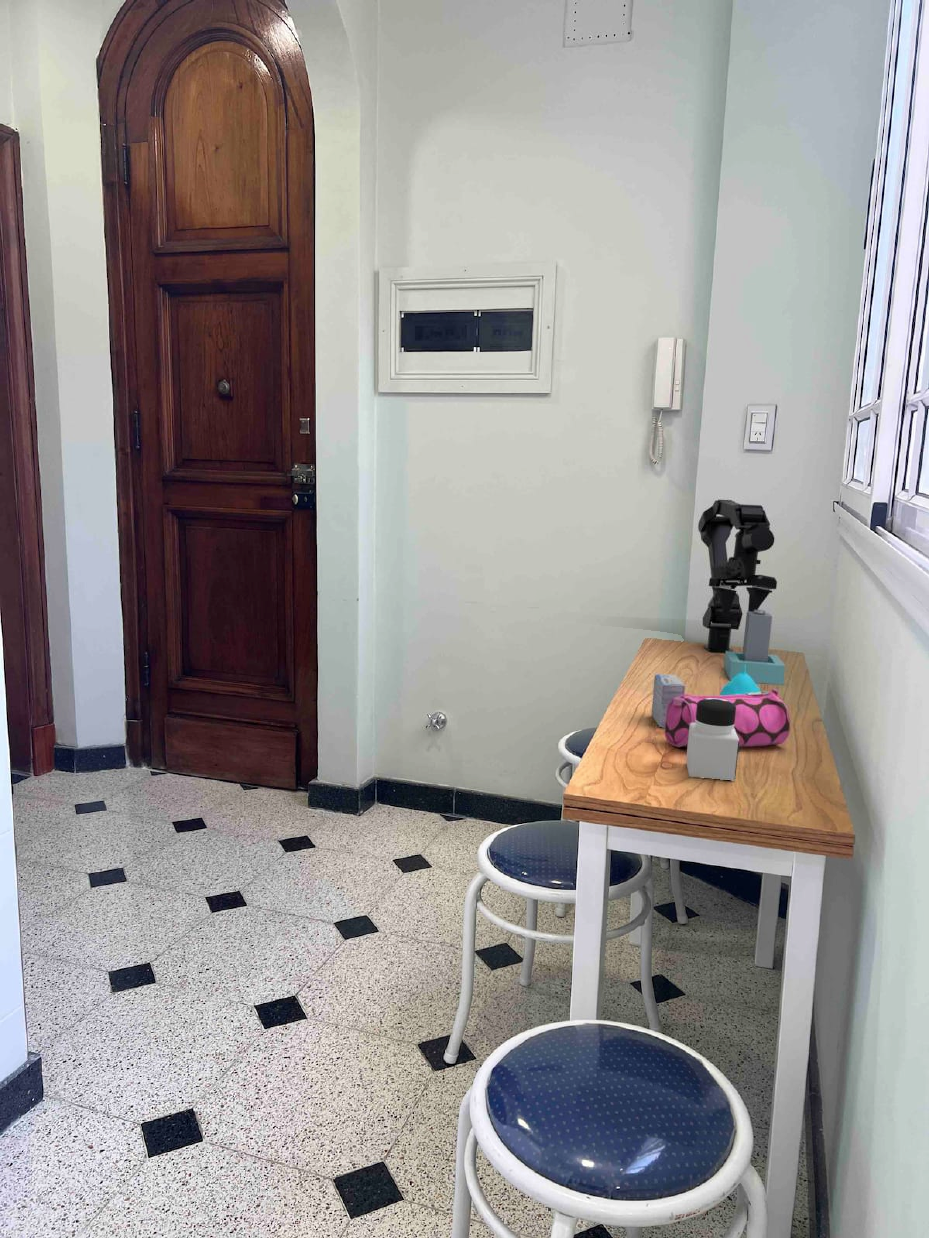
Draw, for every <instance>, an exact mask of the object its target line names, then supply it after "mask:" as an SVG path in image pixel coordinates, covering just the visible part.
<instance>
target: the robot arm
mask: <svg viewBox="0 0 929 1238" xmlns="http://www.w3.org/2000/svg"><path fill="white" fill-rule="evenodd" d="M766 514H767V513H766V510H764V507H763V506H762V505H761V504H760V505H759V504H741V503H738V502H735V501H734V500H732V499H717V500H715V501H714V502H713V504H712V506H710V507H709V508H707V509H706V510H704V511H703V512H702V514H701V517H700V519H699V520H698V523H697V524H698V526H697V530H698V532H699V534H700V540H701V541H702V543H704V545H705V546H706V547H707V549H708V557H709V566H710V567H709V568H710V576H711V577H710V578H709V582H708V587H711V590H712V596H711V599H710V600H709V602H708V604H707V609H706V611H705V612H704V614H703V616H702V626H703V628H706V629H709V630H708V639H707V644H704V645H703V648H704V649H706V650H707V651H708V652H711V653H713V652H715V653H725V652H726V651H733V652H734V650H733V649H732V648H730V644H731V637H732V636H731V635H732V630H736V631H737V630H739V629H740V626H741V621H742V619H743V614H744V613H743V609H742V607H741V603H740V595H739V594H738V593H737V590H735V589H736V588H737V587H745V588H746V591H747V593H748V608H747V611H748V612H754V610H759V608H760V606H761V605H762V604H763V603H764V601H765V600H766V599H767V597H768V596H769V595H770V594H771V593H773V590H777V586H778V581H777V579H776V577H775V576H774V577H773V576H768V575H763V574H756V572H757V565H761V562H762V561H761V559H758V557H759V555H758V554H759V553H760V552H764V551H767V550H770V549H771V548H772V546H774V543H775V536H774V532H772V530H770V529H771V527H770V525H771V523H770V521H769V519H768V516H767V515H766ZM733 528H735V530H737V532H736V533H735V535H734V537H735V541H734V550H733V556H729V558H728V552H727V544H726V543H727V542H728V539H729V537H730V536H731V533H732V530H733Z"/></svg>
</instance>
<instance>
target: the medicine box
mask: <svg viewBox="0 0 929 1238" xmlns="http://www.w3.org/2000/svg"><path fill="white" fill-rule="evenodd" d="M652 691H653V692H652V701H651V702H652V704H651V717H652V719H653V720H654V721H655V723H656V722H657V723H656V724H657V725H658V727H659V728H660V727H662V728H663V729H665V721H666V714H667V708H668V705H669V703H670V701H671V700H673V699H674V698H676V697H677V696H680V695H683V694H686V684H685V683H684V682H683V681H682V680H681V679H680V677H678V675H676V674H667V673H666V674H665V673H662V674H655V675H654V679H653V690H652ZM662 728H661V729H662Z"/></svg>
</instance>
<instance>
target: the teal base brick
mask: <svg viewBox="0 0 929 1238" xmlns="http://www.w3.org/2000/svg"><path fill="white" fill-rule="evenodd" d="M724 653H725V654H724V666H723V671H724V672H725V671H726V672H725V674H726V676H727V678H728V680H729V681H730V680H732V679H733V678H734V677H735V676H736V675H737V674H739V673H742V672H743V669H744V665H745V666H746V674H748V675H749V676H750V677H751V678H752V679H753V681H754V682H756V684H768V685H778V686H779V685H780V686H781V685H782V686H784V684H785V683H784V682H785V675H786V674H785V673H786V664H785V663H784V662H783V661H782V659H781V658H780V657H779V656H778V654H769V653H768V659H767V663H765V662H752V661H742V653H743V651H734V650H733V651H726V652H724Z"/></svg>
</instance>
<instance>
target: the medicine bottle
mask: <svg viewBox="0 0 929 1238" xmlns="http://www.w3.org/2000/svg"><path fill="white" fill-rule="evenodd" d="M735 714H736V707H735V705H734V704H733V703H731V702H729V701H727V700H723V699H717V698H706V699H703V700H700V701H699V702H698V703H697V710H696V721H695V723H690V726H689V737H688V747H686V749H687V750H686V757H685V758H686V759H685V760H686V761H685V763H686V766H687V772H688V776H689V777H690V778H693V777H704V778H714V779H720V780H719V781H723V780H731V781H730V782H735V780H736V776H737V765H738V756H739V750H740V749H739V738H738V736H737V733H736V731H735V729H734V724H735Z"/></svg>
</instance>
